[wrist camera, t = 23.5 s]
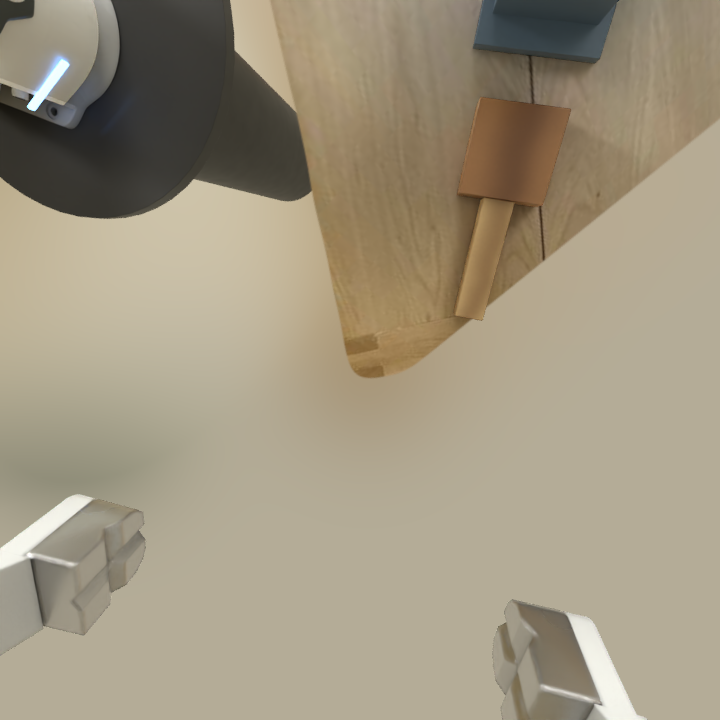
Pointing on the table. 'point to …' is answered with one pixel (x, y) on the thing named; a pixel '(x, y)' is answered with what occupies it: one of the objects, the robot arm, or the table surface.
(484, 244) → the mallet
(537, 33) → the pedestal stand
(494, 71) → the table surface
